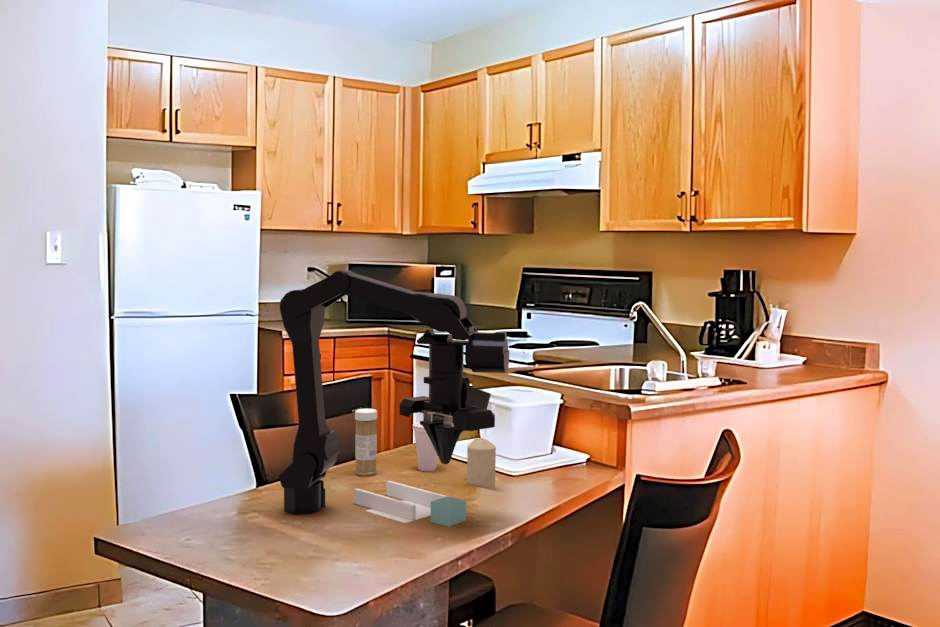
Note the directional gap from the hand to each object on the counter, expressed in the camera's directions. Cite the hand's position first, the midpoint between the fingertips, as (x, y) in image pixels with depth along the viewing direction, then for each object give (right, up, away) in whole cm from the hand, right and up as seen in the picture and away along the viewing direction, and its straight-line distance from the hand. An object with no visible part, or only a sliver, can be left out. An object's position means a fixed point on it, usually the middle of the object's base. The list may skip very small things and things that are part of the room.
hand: (445, 463), depth 153 cm
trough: (-8, -10, +8) cm, 15 cm away
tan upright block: (+6, -10, +26) cm, 28 cm away
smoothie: (-5, -8, +42) cm, 43 cm away
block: (-1, -9, +1) cm, 9 cm away
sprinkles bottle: (-18, -8, +37) cm, 42 cm away
